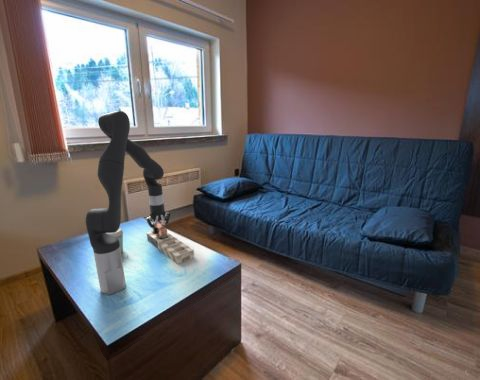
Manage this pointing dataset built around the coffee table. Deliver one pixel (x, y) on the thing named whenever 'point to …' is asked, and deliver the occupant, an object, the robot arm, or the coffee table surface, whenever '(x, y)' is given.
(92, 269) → the coffee table surface
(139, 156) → the robot arm
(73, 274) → the coffee table surface
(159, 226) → the pinkish brown rectangular block
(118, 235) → the coffee cup
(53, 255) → the coffee table surface
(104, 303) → the coffee table surface
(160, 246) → the rail
